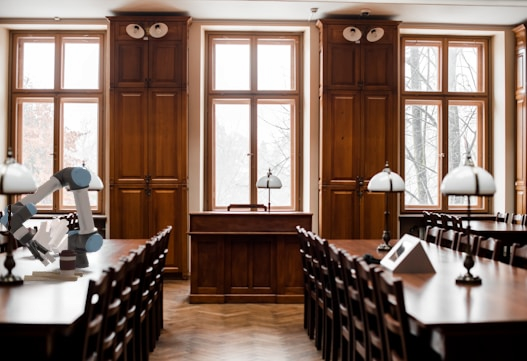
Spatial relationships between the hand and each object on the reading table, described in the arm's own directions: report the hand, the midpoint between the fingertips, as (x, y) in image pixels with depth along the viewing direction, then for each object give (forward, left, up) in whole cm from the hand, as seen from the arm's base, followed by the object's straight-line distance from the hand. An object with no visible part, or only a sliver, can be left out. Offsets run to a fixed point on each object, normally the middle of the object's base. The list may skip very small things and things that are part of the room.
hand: (51, 263), depth 319 cm
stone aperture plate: (0, +9, -8) cm, 12 cm away
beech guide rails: (0, +2, -8) cm, 9 cm away
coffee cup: (0, +9, -8) cm, 12 cm away
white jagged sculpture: (-99, -25, -9) cm, 103 cm away
